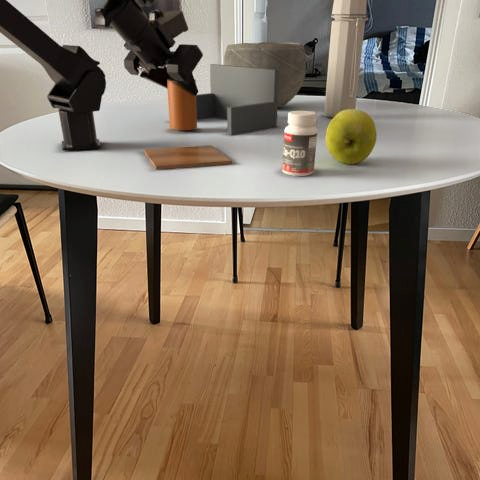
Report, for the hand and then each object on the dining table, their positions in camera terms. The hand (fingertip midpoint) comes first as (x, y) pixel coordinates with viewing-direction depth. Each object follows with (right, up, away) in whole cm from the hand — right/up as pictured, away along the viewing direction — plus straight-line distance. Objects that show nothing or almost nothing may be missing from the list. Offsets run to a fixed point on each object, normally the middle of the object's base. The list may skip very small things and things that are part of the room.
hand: (187, 92), depth 100 cm
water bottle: (+34, +2, +18) cm, 39 cm away
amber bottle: (-1, -6, +3) cm, 7 cm away
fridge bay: (+6, -3, +9) cm, 11 cm away
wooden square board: (+2, -19, -18) cm, 26 cm away
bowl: (+17, +10, +31) cm, 36 cm away
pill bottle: (+19, -24, -25) cm, 40 cm away
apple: (+28, -21, -20) cm, 40 cm away
